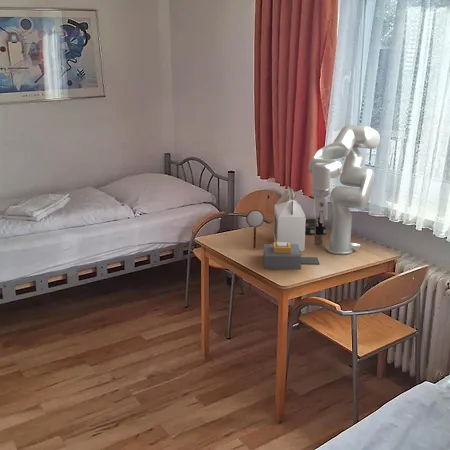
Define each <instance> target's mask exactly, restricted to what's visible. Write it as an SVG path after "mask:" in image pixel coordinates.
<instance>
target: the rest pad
mask: <svg viewBox="0 0 450 450" xmlns="http://www.w3.org/2000/svg"><path fill="white" fill-rule="evenodd" d="M301 265H319V266H320V265H321V263H320V261H319V258H318V257H317V256H316V257H315V256H311V257H310V256H301Z"/></svg>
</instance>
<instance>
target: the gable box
mask: <svg viewBox="0 0 450 450" xmlns="http://www.w3.org/2000/svg"><path fill="white" fill-rule="evenodd" d="M273 206H274V210H273V212H274V213H273V240H274V241H273V242H290V244H298V246H299V250H300V252H305V242H306V241H305V239H306V235H305V224H306V219H307V216H306V214H305V211H304V210H303V208H302V206H301V204H300V203H299V201H298V200H297V198H296V193H295V191H294V189H293V188H291V187H290V186H289V185H288V187H287V190H285V191H284V192H283V193H282V195H280V197H279V199H277V201H276V203H275V204H274V205H273Z"/></svg>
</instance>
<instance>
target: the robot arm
mask: <svg viewBox="0 0 450 450" xmlns="http://www.w3.org/2000/svg"><path fill="white" fill-rule="evenodd" d="M380 143H381V135H380V133H379V131H377V130H376V129H374V128H373V127H370V126H366V125H353V124H352V125H350V124H347V125H344V126H343V127H342V128H341V129H340V131H339V133H337V136H336V137H335V138H334V141H333V142H332V143H330V144H327V145H325V146H323V147H321V148H320V149H318V150H317V151H315V153H314V154H313V156H312V158H311V159H310V161H309V164H308V172H309V173H310V174H311V197H313V215H314V219H315V218H316V220H317V226H316V235H323V230H324V226H325V225H324V226H323V224H324V220H325V221H327V220H328V198H329V197H330V203H331V216H330V217H331V218H330V220H331V221H330V234H329V235H330V237H329V238H330V239H329V244H328V245H327V246H326V251H327V252H328V253H330V254H334V255H341V256H342V255H349V254H352V253H353V252H354V248H355V249H360V248H361V244H360V243H357V242H352V241H351V236H352V235H351V234H352V222H353V215H352V212H351V209H356V210H365V209H366V208H367V206H368V204H369V201H370V198H371V194H372V192H373V191H372V190H373V188H374V185H375V184H374V183H375V178H376V177H375V172H374V169H371V168H369V167H363V164H364V161H365V159H364V156H363V155H362V153H361V151H360V150H359V149H369V150H374V149H376V148H378V147H379V145H380ZM343 158H345V159H344V163H343V164H342V162H341V161H339V160H338V159H343ZM338 177H339V182H340V184H341V185H339V186H337V185H336V186H335V187H333V188H332V190H331V192H330V188H331V179H336V178H338ZM318 218H320V219H318ZM318 221H319V222H318ZM323 236H324V235H323Z"/></svg>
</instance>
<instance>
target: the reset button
mask: <svg viewBox="0 0 450 450" xmlns="http://www.w3.org/2000/svg"><path fill="white" fill-rule="evenodd" d="M277 247H287V242H277Z"/></svg>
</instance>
